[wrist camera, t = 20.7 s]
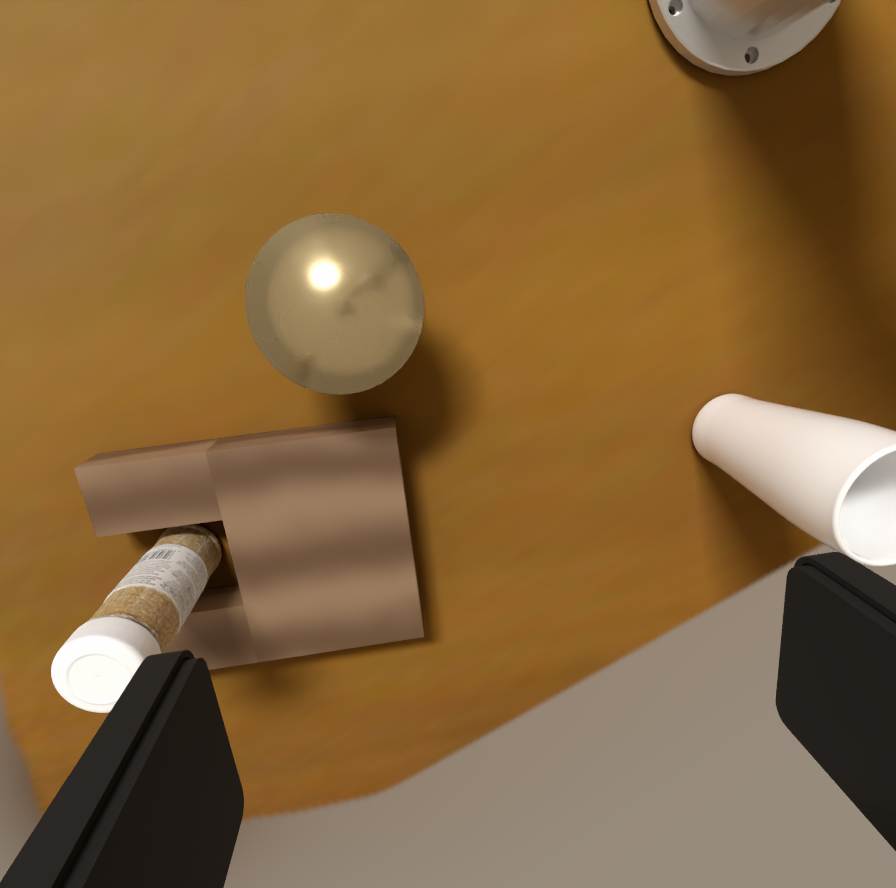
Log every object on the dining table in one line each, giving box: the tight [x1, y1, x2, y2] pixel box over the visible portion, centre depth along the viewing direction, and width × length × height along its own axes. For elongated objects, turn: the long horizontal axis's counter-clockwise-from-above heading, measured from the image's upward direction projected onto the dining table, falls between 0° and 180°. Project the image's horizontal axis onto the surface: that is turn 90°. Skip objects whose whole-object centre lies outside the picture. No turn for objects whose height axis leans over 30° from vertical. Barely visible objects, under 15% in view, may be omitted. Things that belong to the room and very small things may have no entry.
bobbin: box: [245, 213, 424, 395], centre depth 32 cm, size 9×9×8 cm
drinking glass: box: [692, 394, 896, 566], centre depth 34 cm, size 7×7×15 cm
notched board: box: [74, 416, 424, 670], centre depth 39 cm, size 16×20×3 cm
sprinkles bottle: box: [51, 524, 222, 713], centre depth 33 cm, size 5×5×14 cm
